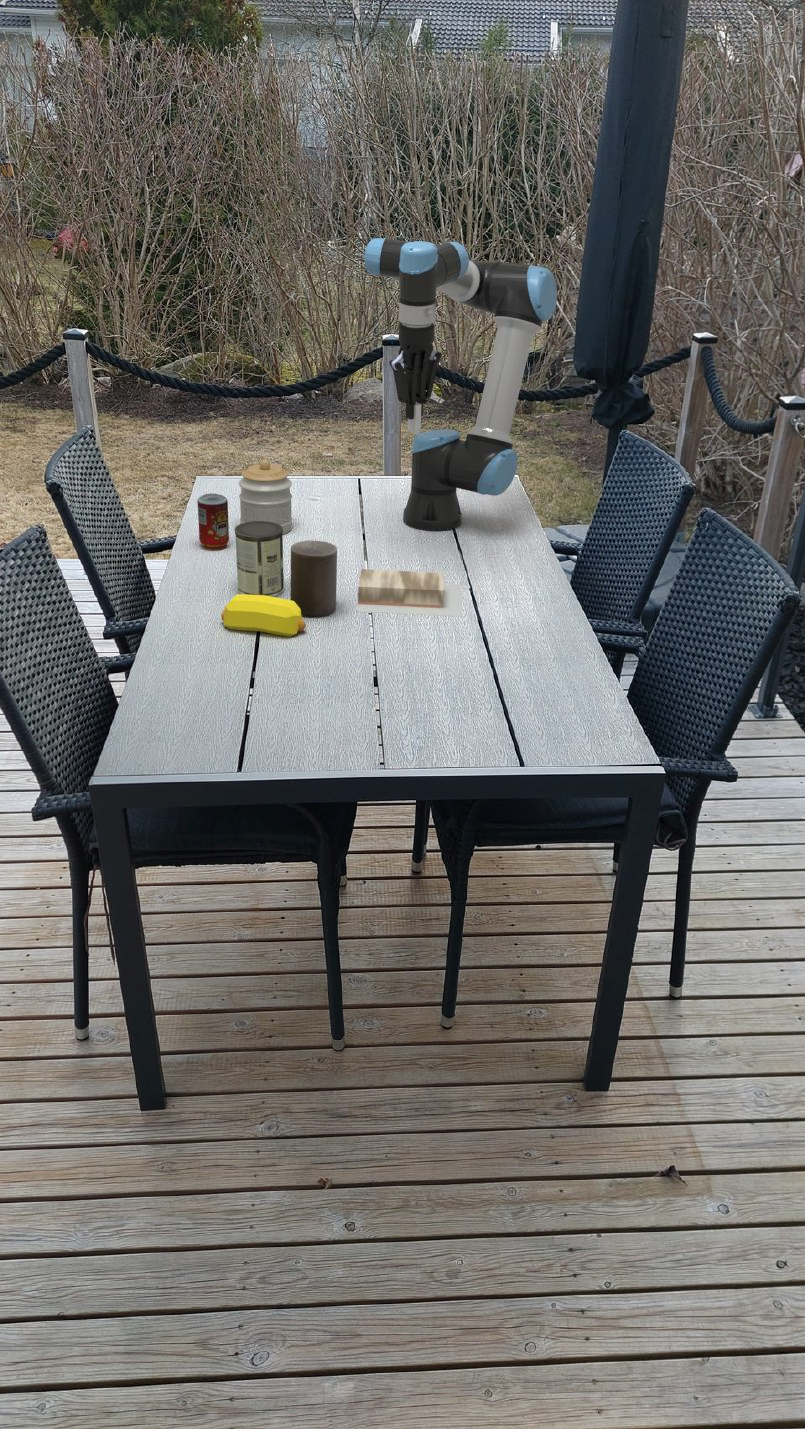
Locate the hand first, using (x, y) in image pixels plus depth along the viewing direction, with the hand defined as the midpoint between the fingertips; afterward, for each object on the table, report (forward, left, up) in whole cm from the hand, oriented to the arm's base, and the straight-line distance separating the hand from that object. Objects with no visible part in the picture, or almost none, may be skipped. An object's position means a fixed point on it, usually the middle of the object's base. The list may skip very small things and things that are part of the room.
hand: (413, 431), depth 244 cm
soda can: (+32, -35, -32) cm, 57 cm away
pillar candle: (+33, +9, -32) cm, 46 cm away
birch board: (+7, +21, -28) cm, 36 cm away
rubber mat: (+13, +17, -31) cm, 38 cm away
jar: (+15, -39, -32) cm, 52 cm away
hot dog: (+47, +11, -32) cm, 58 cm away
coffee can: (+37, -6, -32) cm, 49 cm away
